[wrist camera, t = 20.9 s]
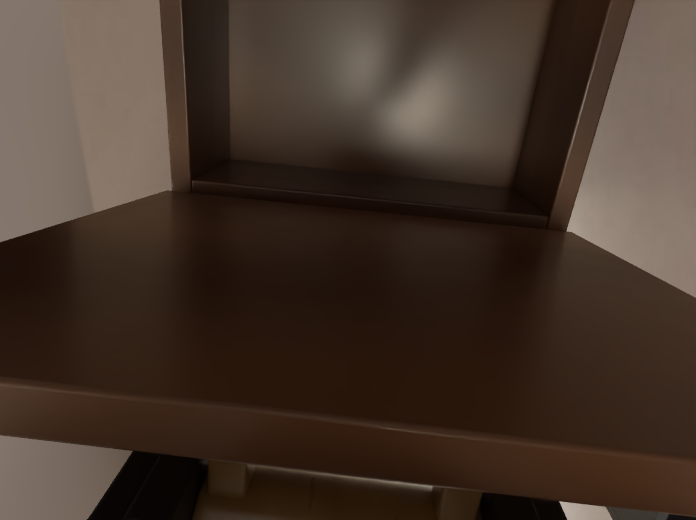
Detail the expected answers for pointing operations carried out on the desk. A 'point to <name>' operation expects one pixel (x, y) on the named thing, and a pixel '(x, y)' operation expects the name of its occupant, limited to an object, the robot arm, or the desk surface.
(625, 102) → the desk surface
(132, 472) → the robot arm
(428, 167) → the chest
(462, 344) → the lid
